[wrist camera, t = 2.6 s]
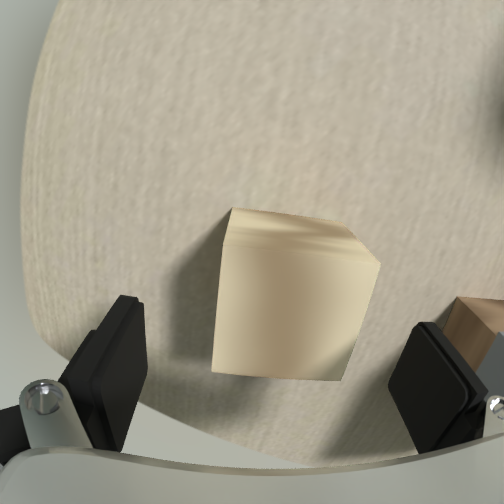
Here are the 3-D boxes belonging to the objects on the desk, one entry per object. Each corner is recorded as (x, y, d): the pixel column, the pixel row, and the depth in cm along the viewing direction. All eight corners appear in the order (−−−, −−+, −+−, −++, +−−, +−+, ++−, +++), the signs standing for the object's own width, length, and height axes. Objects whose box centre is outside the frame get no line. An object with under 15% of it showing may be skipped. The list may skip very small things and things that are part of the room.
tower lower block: (531, 301, 18) (566, 331, 13) (482, 392, 22) (505, 427, 17) (455, 294, 18) (496, 336, 13) (401, 403, 21) (422, 449, 16)
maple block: (341, 221, 16) (380, 264, 11) (318, 314, 18) (340, 380, 12) (232, 206, 15) (223, 244, 10) (221, 304, 17) (211, 371, 12)
